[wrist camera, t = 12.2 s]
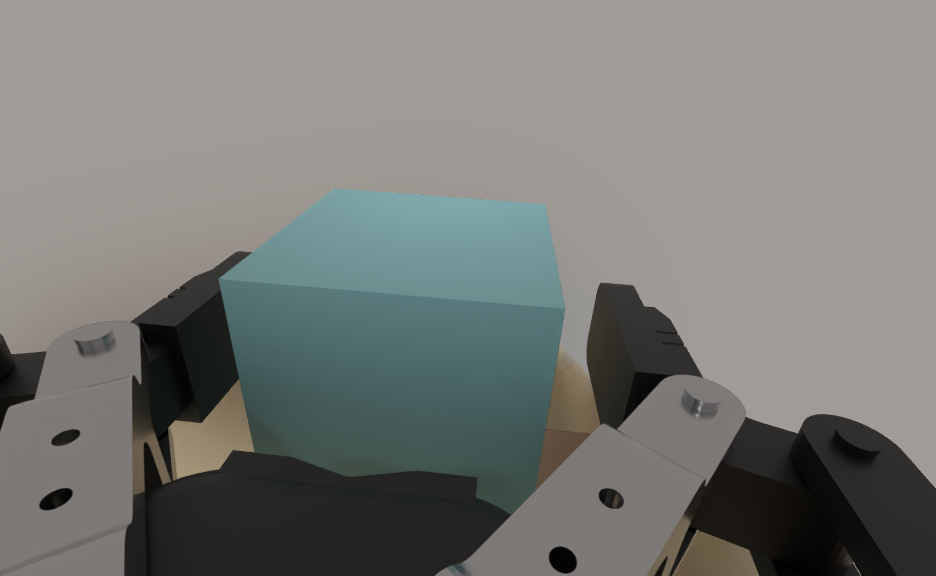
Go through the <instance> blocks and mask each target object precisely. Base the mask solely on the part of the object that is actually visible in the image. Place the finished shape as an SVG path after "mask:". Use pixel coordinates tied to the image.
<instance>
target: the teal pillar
mask: <svg viewBox="0 0 936 576" xmlns="http://www.w3.org/2000/svg"><path fill="white" fill-rule="evenodd" d="M219 284H220V289H221V294H222V298H223V303H224V308H225V313H226V318H227V322H228V327H229V332H230V337H231V342H232V346H233V351H234V356H235V361H236V365H237V370H238V375H239V380H240V385H241V389H242V394H243V399H244V404H245V409H246V413H247V418H248V423H249V428H250V433H251V437H252V442H253V447H254V452H255V453H263V454H272V455H281V456H290V457H294V458H297V459H299V460H302V461H305V462H308V463H310V464H313V465H316V466H319V467H321V468H324V469H327V470H330V471H332V472H335V473H338V474H341V475H344V476H350V477H354V476H365V475H375V474H386V473H396V472H406V471H425V472H434V473H443V474H452V475H461V476H470V477H478V479H477V491H476V497H477V498H479V499H482V500H484V501H487V502H489V503H491V504H493V505H495V506H497V507H500V508H502V509H503V510H505V511H506V512H508V513H509V514H511V515H512V514H513V513H514V512H515V511H516V510H517V509H518V508H519V507H520V506H521V505H522V504H523V503H524V502H525V501H526V500H527V499H528V498H529V497H530V496H531V495H532V494H533V493H534V492H535V490H536V484H537V478H538V472H539V466H540V460H541V454H542V448H543V442H544V436H545V429H546V423H547V417H548V411H549V405H550V399H551V393H552V387H553V381H554V375H555V369H556V362H557V356H558V350H559V344H560V338H561V332H562V325H563V320H564V314H565V305H564V299H563V295H562V290H561V284H560V279H559V274H558V269H557V264H556V258H555V253H554V248H553V243H552V238H551V232H550V227H549V222H548V217H547V212H546V207H545V204H535V203H522V202H509V201H495V200H482V199H467V198H454V197H440V196H428V195H414V194H400V193H388V192H373V191H360V190H347V189H333V190H332V191H331V192H330V193H329V194H327V195H326V196H324V197H323V198H322V199H321V200H319V201H318V202H317V203H315V204H314V205H313V206H312V207H310V208H309V209H308V210H306V211H305V212H304V213H303V214H301V215H300V216H299V217H297V218H296V219H295V220H294V221H292V222H291V223H290V224H288V225H287V226H286V227H285V228H283V229H282V230H281V231H279V232H278V233H277V234H276V235H274V236H273V237H272V238H270V239H269V240H268V241H267V242H265V243H264V244H263V245H262V246H260V247H259V248H258V249H256V250H255V251H254V252H252V253H251V254H250V255H249V256H247V257H246V258H245V259H243V260H242V261H241V262H240V263H238V264H237V265H236V266H234V267H233V268H232V269H231V270H229V271H228V272H227V273H225V274H224V275H223V276H221V277H220V278H219Z"/></svg>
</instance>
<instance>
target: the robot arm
mask: <svg viewBox="0 0 936 576" xmlns="http://www.w3.org/2000/svg"><path fill="white" fill-rule="evenodd" d="M251 253H252V252H242V251H238V252H236V253H234V254H233V255H231V256H230V257H229V258H227V259H226V260H225V261H223V262H222V263H221V264H219V265H218V266H216V267H215V268H214V269H212V270H210V271H207V272H205V273H202V274H200V275H198V276H195V277H193V278H192V279H191V280H189V281H188V282H186V283H185V284H183V285H182V286H181V287H180V289H176V290H175V291H174V292H172V293H171V294H169V295H168V298H164V299H162V300H161V301H159V302H158V303H157V304H155V305H154V306H152V307H151V308H149V309H148V310H147V311H145V312H144V313H142V314H141V315H140V316H138V317H137V318H135V319H134V320H132V321H131V322H125V321H107V322H100V323H95V324H90V325H87V326H83V327H80V328H78V329H75V330H73V331H70V332H68V333H66V334H64V335H62V336H60V337H59V338H57V339H56V340H55V341H54V342H53V343H51V345H50V346H49V347H48V350H47V351H46V352H35V353H24V354H12V355H11V353H10V350H9V349H8V346H7V344H6V342H5V340H4V338H3V336H2V335H1V334H0V576H675V575H676V573H677V571H678V569H679V567H680V565H681V564H682V562H683V560H684V558H685V556H686V554H687V553H688V551H689V549H690V547H691V545H692V543H693V541H694V540H695V538H696V536H697V534H698V532H699V531H702V532H704V533H707V534H710V535H712V536H715V537H717V538H720V539H723V540H725V541H728V542H730V543H733V544H735V545H738V546H741V547H743V548H746V549H748V550H750V553H751V556H752V558H753V561H754V563H755V566H756V568H757V571H758V573H759V576H860V574H861V576H936V488H935V487H934V486H933V485H932V484H931V483H930V482H929V480H928V479H927V478H926V477H925V476H924V475H923V474H922V473H921V471H920V470H919V469H918V468H917V467H916V466H915V464H914V463H913V462H912V461H911V460H910V459H909V458H908V457H907V455H906V454H905V453H904V452H903V451H902V450H901V449H900V448H899V447H898V446H897V445H896V444H894V443H893V442H892V441H891V440H889V439H888V438H886V437H885V436H884V435H882V434H880V433H879V432H877V431H875V430H873V429H871V428H870V427H868V426H866V425H863V424H861V423H858V422H856V421H853V420H850V419H847V418H844V417H839V416H834V415H826V414H818V415H813V416H810V417H808V418H807V419H805V420H804V422H803V424H802V426H801V428H800V430H799V433H794V432H790V431H787V430H784V429H781V428H777V427H774V426H771V425H767V424H764V423H761V422H758V421H755V420H752V419H749V418H747V417H746V411H745V408H744V406H743V404H742V402H741V401H740V400H739V399H738V398H737V397H736V396H735V395H734V394H733V393H732V392H730V391H729V390H727V389H726V388H724V387H722V386H721V385H719V384H717V383H715V382H713V381H710V380H707V379H704V378H703V377H702V375H701V373H700V372H699V370H698V368H697V366H696V364H695V363H694V361H693V359H692V358H691V356H690V354H689V352H688V350H687V348H686V347H684V343H683V341H682V340H681V338H680V336H679V335H677V331H676V329H675V327H674V325H673V324H672V322H671V320H670V319H669V318H667V317H666V316H665V315H664V314H662V313H661V312H660V311H658V310H657V309H656V308H655V307H644V305H643V303H642V301H641V299H640V298H639V295H638V293H637V291H636V290H635V287H634V286H633V285H623V284H611V283H600V285H599V287H598V290H597V294H596V300H595V305H594V310H593V315H592V320H591V326H590V331H589V335H588V342H587V365H588V370H589V374H590V379H591V383H592V388H593V393H594V397H595V402H596V406H597V411H598V415H599V420H600V424H601V425H600V426H599V427H598V428H597V429H596V430H595V431H594V432H593V433H592V434H591V435H590V436H589V437H588V438H587V439H586V440H585V441H584V442H583V443H582V444H581V445H580V446H579V447H578V448H577V449H576V450H575V451H574V452H573V453H572V454H571V455H570V456H569V457H568V458H567V459H566V460H565V461H564V462H563V463H562V464H561V465H560V466H559V467H558V468H557V469H556V470H555V471H554V472H553V473H552V474H551V475H550V476H549V477H548V478H547V479H546V481H545V482H544V483H543V484H542V485H541V486H540V487H539V488H538V489H537V490H536V491H535V492H534V493H533V494H532V495H531V496H530V497H529V498H528V499H527V500H526V501H525V502H524V503H523V504H522V505H521V506H520V507H519V508H518V509H517V510H516V511H515V512H514V513H513V514H512V515H511V514H509V513H508V512H506V511H505V510H503V509H502V508H500V507H497V506H495V505H493V504H491V503H489V502H487V501H484V500H482V499H479V498H477V497H476V491H477V479H478V477H470V476H461V475H452V474H443V473H434V472H425V471H406V472H396V473H386V474H375V475H365V476H354V477H350V476H344V475H341V474H338V473H335V472H332V471H330V470H327V469H324V468H321V467H319V466H316V465H313V464H310V463H308V462H305V461H302V460H299V459H297V458H294V457H290V456H281V455H272V454H263V453H254V452H245V451H236V450H233V451H232V452H231V454H230V455H229V457H228V458H227V459H226V461H225V462H224V464H223V465H222V466H221V468H220V469H219V470H212V471H207V472H202V473H197V474H193V475H190V476H186V477H182V478H179V479H177V472H176V462H175V453H174V443H173V437H172V433H171V430H170V427H169V426H170V425H171V424H172V423H173V422H174V421H175V420H178V421H188V422H197V423H202V422H203V421H204V419H205V418H206V417H207V416H208V415H209V413H210V412H211V411H212V410H213V409H214V408H215V406H216V405H217V404H218V403H219V402H220V400H221V399H222V398H223V397H224V396H225V395H226V393H227V392H228V391H229V390H230V389H231V387H232V386H233V385H234V384H235V383H236V382H237V380H238V379H239V375H238V370H237V365H236V361H235V356H234V351H233V346H232V342H231V337H230V332H229V327H228V322H227V318H226V313H225V308H224V303H223V298H222V294H221V289H220V284H219V278H220V277H221V276H223V275H224V274H225V273H227V272H228V271H229V270H231V269H232V268H233V267H234V266H236V265H237V264H238V263H240V262H241V261H242V260H243V259H245V258H246V257H247V256H249V255H250V254H251ZM853 562H854V563H855V565H856V567H857V569H858V570H859V572H860V574H859V572H858V571H857V569H856V568H855V566H854V564H853Z"/></svg>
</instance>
